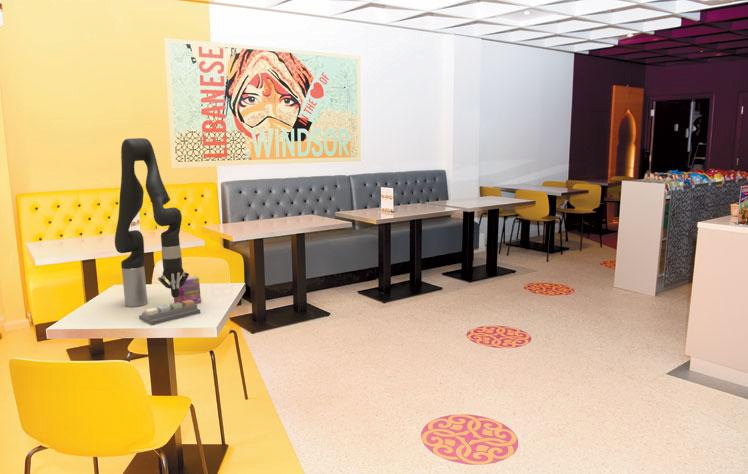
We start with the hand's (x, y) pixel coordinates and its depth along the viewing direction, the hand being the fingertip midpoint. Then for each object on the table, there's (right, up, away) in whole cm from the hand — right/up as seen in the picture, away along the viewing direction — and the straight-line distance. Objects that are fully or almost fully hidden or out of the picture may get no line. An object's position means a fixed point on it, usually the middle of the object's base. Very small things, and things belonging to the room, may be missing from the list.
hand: (175, 297), depth 233 cm
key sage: (0, -5, +1) cm, 5 cm away
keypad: (-2, -8, 0) cm, 8 cm away
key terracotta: (+4, -4, +5) cm, 7 cm away
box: (-1, -5, +18) cm, 18 cm away
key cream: (-7, -6, -6) cm, 11 cm away
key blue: (-4, -5, -3) cm, 7 cm away
